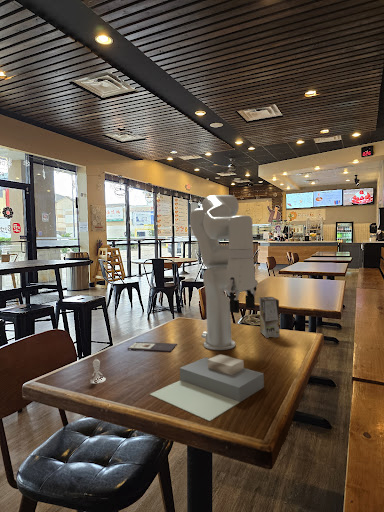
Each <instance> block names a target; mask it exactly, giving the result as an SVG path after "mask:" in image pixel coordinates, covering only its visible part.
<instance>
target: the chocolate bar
mask: <svg viewBox="0 0 384 512" xmlns="http://www.w3.org/2000/svg"><path fill="white" fill-rule="evenodd" d="M176 345H177V346H178V343H172V342H171V343H166V342H165V343H164V342H146V341H145V342H143V341H136V342H134V343H133V344H132V345H130V346H129V347H127V349H131V350H130V351H136V350H144V351H143V352H156V351H157V352H158V351H159V353H171V352H172V351H173V350H174V349H175V348H176V347H177V346H176ZM175 346H176V347H175Z"/></svg>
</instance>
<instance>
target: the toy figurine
mask: <svg viewBox="0 0 384 512" xmlns="http://www.w3.org/2000/svg"><path fill="white" fill-rule="evenodd" d="M91 361H92V360H91ZM100 364H101V361H100V360H99V359H98V357H97V356H95V357H94V360H93V361H92V368H93V370H94V371H93V373H92V374H91V375H92V377H93V376H94V377H93V378H92V379H90V381H89V382H90V384H94V385H95V384H101V383H103V382H105V381H106V379H107V378H106V377H104V376H103V373H101V372H100V366H101V365H100ZM100 375H101V376H100ZM100 377H103V378H101V379H102V380H101V379H99V378H100ZM97 378H98V380H97ZM95 380H97V381H95ZM94 381H95V382H97V383H95V382H94Z"/></svg>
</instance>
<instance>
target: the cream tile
mask: <svg viewBox="0 0 384 512" xmlns="http://www.w3.org/2000/svg"><path fill="white" fill-rule="evenodd" d="M209 358H210V357H209ZM207 361H208V368H211V369H214V370H217V371H220V372H224V373H227V374H230V375H232V374H234V373H236V372H238V371H240V370H242V369H244V368H245V367H244V366H245V365H244V363H245V362H244V359H239V358H235V357H233V356H229V355H225V354H220V353H219V354H217V355H215V356H212V357H211V358H210V359H207Z"/></svg>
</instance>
